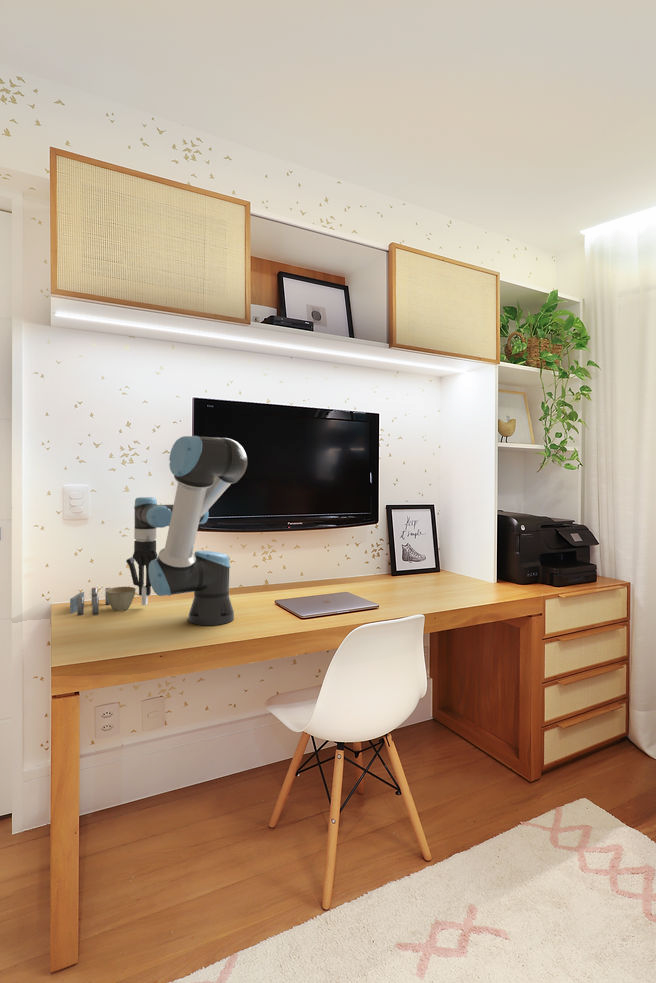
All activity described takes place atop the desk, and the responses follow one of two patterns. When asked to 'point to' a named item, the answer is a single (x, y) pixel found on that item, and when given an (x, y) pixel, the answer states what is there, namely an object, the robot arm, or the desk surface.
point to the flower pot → (120, 597)
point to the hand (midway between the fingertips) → (144, 604)
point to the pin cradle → (78, 603)
